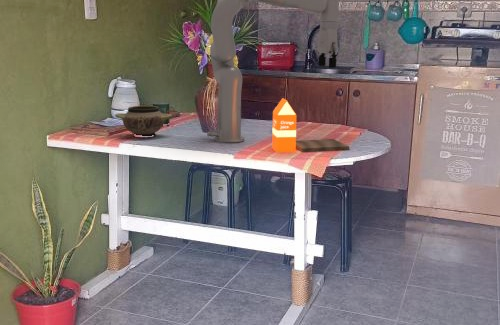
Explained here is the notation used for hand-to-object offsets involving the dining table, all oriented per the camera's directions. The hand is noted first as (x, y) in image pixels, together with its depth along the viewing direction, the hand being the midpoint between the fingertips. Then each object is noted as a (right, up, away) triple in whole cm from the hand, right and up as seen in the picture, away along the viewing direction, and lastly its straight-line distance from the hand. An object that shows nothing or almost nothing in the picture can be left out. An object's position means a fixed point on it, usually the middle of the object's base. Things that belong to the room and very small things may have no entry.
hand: (326, 66), depth 257 cm
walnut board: (-6, -35, -16) cm, 39 cm away
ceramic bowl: (-79, -30, +3) cm, 85 cm away
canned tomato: (-76, -24, +32) cm, 86 cm away
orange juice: (-20, -37, -22) cm, 47 cm away
